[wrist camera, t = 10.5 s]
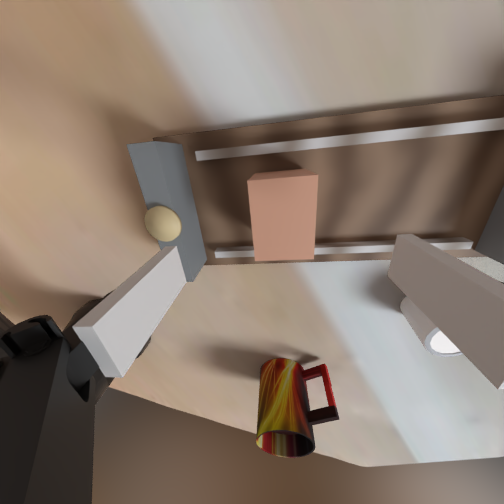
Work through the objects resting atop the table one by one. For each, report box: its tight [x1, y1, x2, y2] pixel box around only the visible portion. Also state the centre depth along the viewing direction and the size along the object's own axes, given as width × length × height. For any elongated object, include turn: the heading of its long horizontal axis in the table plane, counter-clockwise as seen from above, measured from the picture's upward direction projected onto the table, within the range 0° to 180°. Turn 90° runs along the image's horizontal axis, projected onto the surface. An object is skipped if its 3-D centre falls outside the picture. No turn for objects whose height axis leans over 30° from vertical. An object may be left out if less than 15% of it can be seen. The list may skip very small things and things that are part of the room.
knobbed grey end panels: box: [127, 141, 504, 282], centre depth 22 cm, size 44×16×7 cm, turn 95°
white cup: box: [400, 296, 463, 357], centre depth 29 cm, size 7×7×7 cm
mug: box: [256, 358, 339, 458], centre depth 37 cm, size 10×14×12 cm
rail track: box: [153, 95, 504, 265], centre depth 25 cm, size 44×18×2 cm, turn 95°
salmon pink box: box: [247, 169, 318, 261], centre depth 22 cm, size 6×8×8 cm
